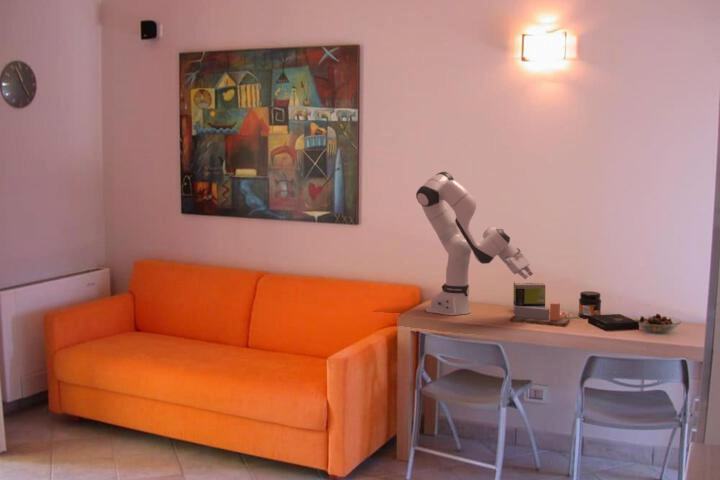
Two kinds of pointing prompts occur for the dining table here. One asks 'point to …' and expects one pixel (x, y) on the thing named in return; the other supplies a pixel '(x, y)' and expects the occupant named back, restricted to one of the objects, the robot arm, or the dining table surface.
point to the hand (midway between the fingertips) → (529, 276)
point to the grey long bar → (532, 312)
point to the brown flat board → (541, 321)
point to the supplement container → (589, 304)
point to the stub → (554, 311)
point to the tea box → (529, 294)
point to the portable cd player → (613, 322)
